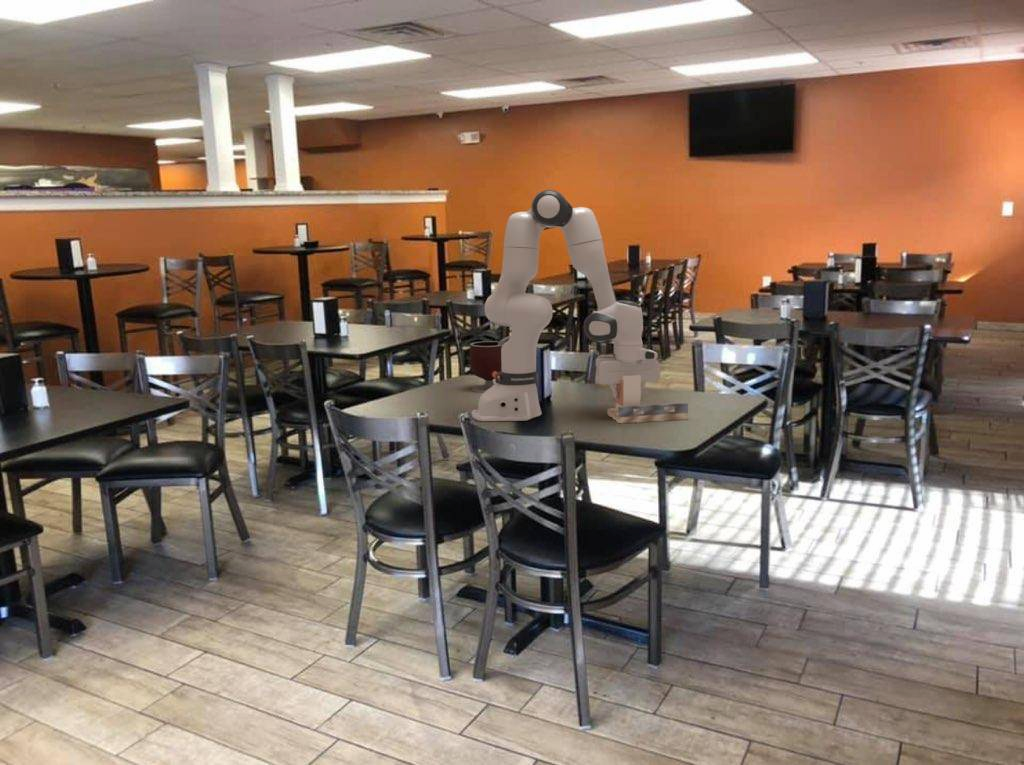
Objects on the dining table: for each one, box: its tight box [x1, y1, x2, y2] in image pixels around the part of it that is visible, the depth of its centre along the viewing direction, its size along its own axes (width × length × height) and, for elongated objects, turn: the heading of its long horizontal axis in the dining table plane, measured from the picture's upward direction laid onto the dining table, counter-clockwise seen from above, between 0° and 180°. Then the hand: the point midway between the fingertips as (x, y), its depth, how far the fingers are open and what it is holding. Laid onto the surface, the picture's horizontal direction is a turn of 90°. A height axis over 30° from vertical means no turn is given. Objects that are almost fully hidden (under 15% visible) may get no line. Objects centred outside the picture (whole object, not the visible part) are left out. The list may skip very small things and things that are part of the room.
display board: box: [607, 402, 689, 424], centre depth 263 cm, size 22×12×5 cm, turn 101°
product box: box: [614, 374, 642, 411], centre depth 262 cm, size 8×6×12 cm
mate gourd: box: [469, 335, 510, 394], centre depth 308 cm, size 16×14×20 cm
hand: (627, 396), depth 262 cm, fingers open, 6 cm apart
